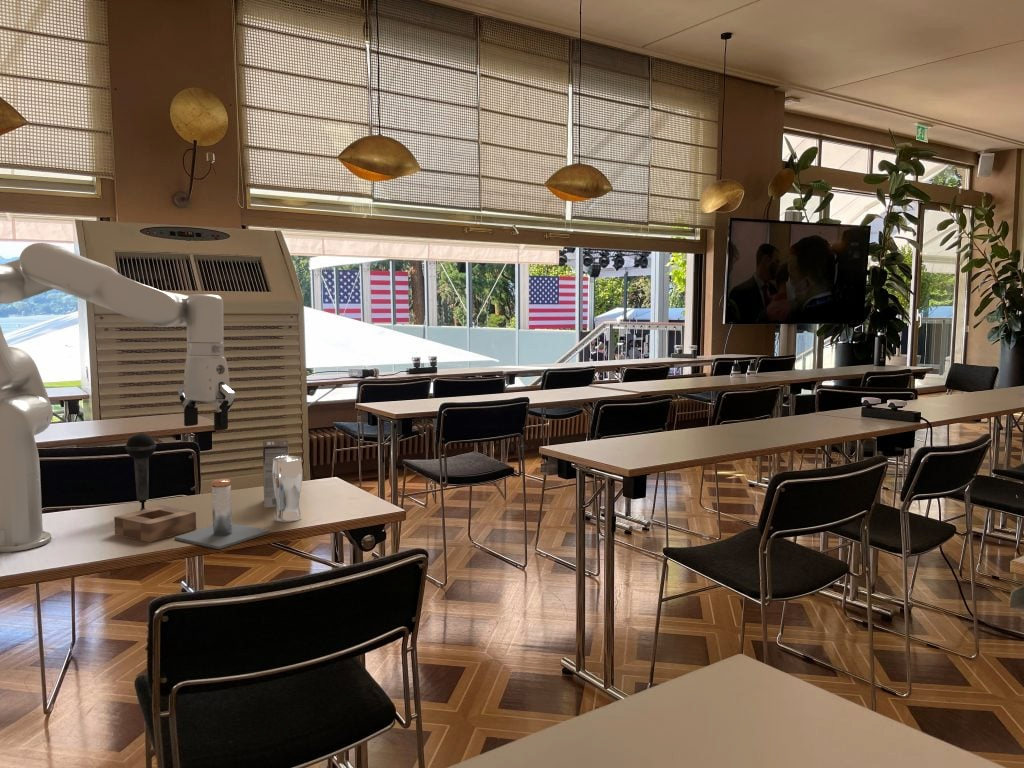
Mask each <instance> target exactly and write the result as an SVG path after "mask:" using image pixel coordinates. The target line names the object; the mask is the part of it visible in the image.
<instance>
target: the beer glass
mask: <svg viewBox="0 0 1024 768" xmlns="http://www.w3.org/2000/svg"><path fill="white" fill-rule="evenodd" d="M273 486H274V492H275V496H276V502H277V507H276V511H275V516H274V518H275V521H276V522H279V523H291V522H297V521H299V519H300V520H301V519H302V513H301V510H300V508H301V507H300V500H301V499H300V498H301V491H302V486H303V466H302V457H301V456H298V455H297V456H296V455H289V456H281V457H276V458H274V459H273Z"/></svg>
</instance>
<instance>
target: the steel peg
mask: <svg viewBox="0 0 1024 768" xmlns="http://www.w3.org/2000/svg"><path fill="white" fill-rule="evenodd" d="M231 482H232V480H231V479H228V478H220V479H219V478H218V479H214V480H211V505H212V506H211V509H212V514H211V515H212V526H213V535H214V536H226V535H230V534H232V523H233V517H232V515H233V514H232V509H233V508H232V483H231Z"/></svg>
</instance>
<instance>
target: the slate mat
mask: <svg viewBox="0 0 1024 768" xmlns="http://www.w3.org/2000/svg"><path fill="white" fill-rule="evenodd" d="M267 534H270V529H264V528H263V529H262V528H259V527H253V526H249V525H243V524H238V523H233V522H232V534H230V535H226V536H214V535H213V525H211V526H207V527H204V528H201V529H198V530H193V531H189V532H187V533H183V534H179V535H178V536H177V535H175V536H174V540H176V541H180V542H185V543H189V544H193V545H199V546H202V547H207V548H212V549H216V550H222V549H225V548H228V547H231V546H234V545H237V544H240V543H243V542H247V541H249V540H252V539H255V538H258V537H261V536H264V535H267Z"/></svg>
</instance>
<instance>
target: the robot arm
mask: <svg viewBox="0 0 1024 768" xmlns="http://www.w3.org/2000/svg"><path fill="white" fill-rule="evenodd" d="M52 290H57V291H60V292H62V293H65V294H68V295H71V296H74V297H76V298H78V299H82V300H84V301H87V302H90V303H92V304H94V305H96V306H99V307H101V308H105V309H108V310H110V311H112V312H115V313H118V314H120V315H122V316H125V317H128V318H131V319H133V320H135V321H139V322H141V323H144V324H147V325H150V326H153V327H158V328H165V327H166V328H172V327H180V326H181V327H182V326H186V357H185V364H184V373H183V383H182V384H181V385H180V386H178V387H177V392H178V396H179V400H180V402H181V407H182V408H183V425H184V426H185V427H191V426H192V427H193V426H197V425H199V408H198V407H196V406H197V405H198V403H207V404H211V405H213V406H212V407H214V409H215V412H213V425H214V426H213V429H214V431H223V430H224V431H225V430H228V428H229V417H228V416H229V412H230V410H231V408H232V406H233V404H234V399H235V397H236V392H235V391H234V390H232V388H231V386H230V372H229V366H228V362H227V358H226V357H224V351H225V347H224V345H225V344H224V342H225V341H224V335H225V333H224V331H225V329H224V299H223V297H221V296H220V295H217V294H205V293H204V294H202V293H197V294H196V293H195V294H194V293H193V294H182V293H176V292H171V291H163V290H160V289H157V288H154V287H153V286H149V285H146V284H145V283H144V284H143V283H141V282H138V281H135V280H134V279H131V278H128V277H126V276H125V275H122V274H121V273H119V272H118V271H117V270H115V269H114V267H111V266H108V265H106V264H104V263H102V262H98V261H95V260H93V259H90V258H87V257H85V256H82V255H80V254H76V253H74V252H72V251H70V250H69V249H67V248H65V247H62V246H59V245H56V244H51V243H48V242H46V243H45V242H37V243H36V242H35V243H32V244H30V245H28V246H26V247H25V248H24V249H23V250H22V251H21V253H20V255H19V258H18V259H15V260H12V261H9V262H6V263H0V304H13V303H17V302H20V301H24V300H26V299H29V298H31V297H35V296H38V295H41V294H44V293H47V292H49V291H52ZM53 413H54V411H53V406H52V403H51V400H50V397H49V395H48V392H47V390H46V387H45V385H44V382H43V379H42V377H41V373H40V370H39V368H38V366H37V364H36V362H35V361H34V359H33V357H31V355H29V354H28V353H27V352H26V351H24V350H22V349H20V348H18V347H13V346H9V344H8V343H7V341H6V338H5V336H4V332H3V330H2V327H1V326H0V553H11V552H12V553H13V552H18V551H26V550H31V549H34V548H38V547H40V546H41V547H42V546H43V545H46V544H48V543H49V542H51V540H52V539H53V538H52V534H51V533H50V532H48V531H44V529H43V509H42V507H43V506H42V488H41V487H42V485H41V468H40V457H39V450H38V447H37V443H36V442H37V441H36V439H35V436H36V435H39V434H41V433H43V432H44V431H46V429H48V428H49V427H50V425H51V424H52V421H53V417H54V414H53Z"/></svg>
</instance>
